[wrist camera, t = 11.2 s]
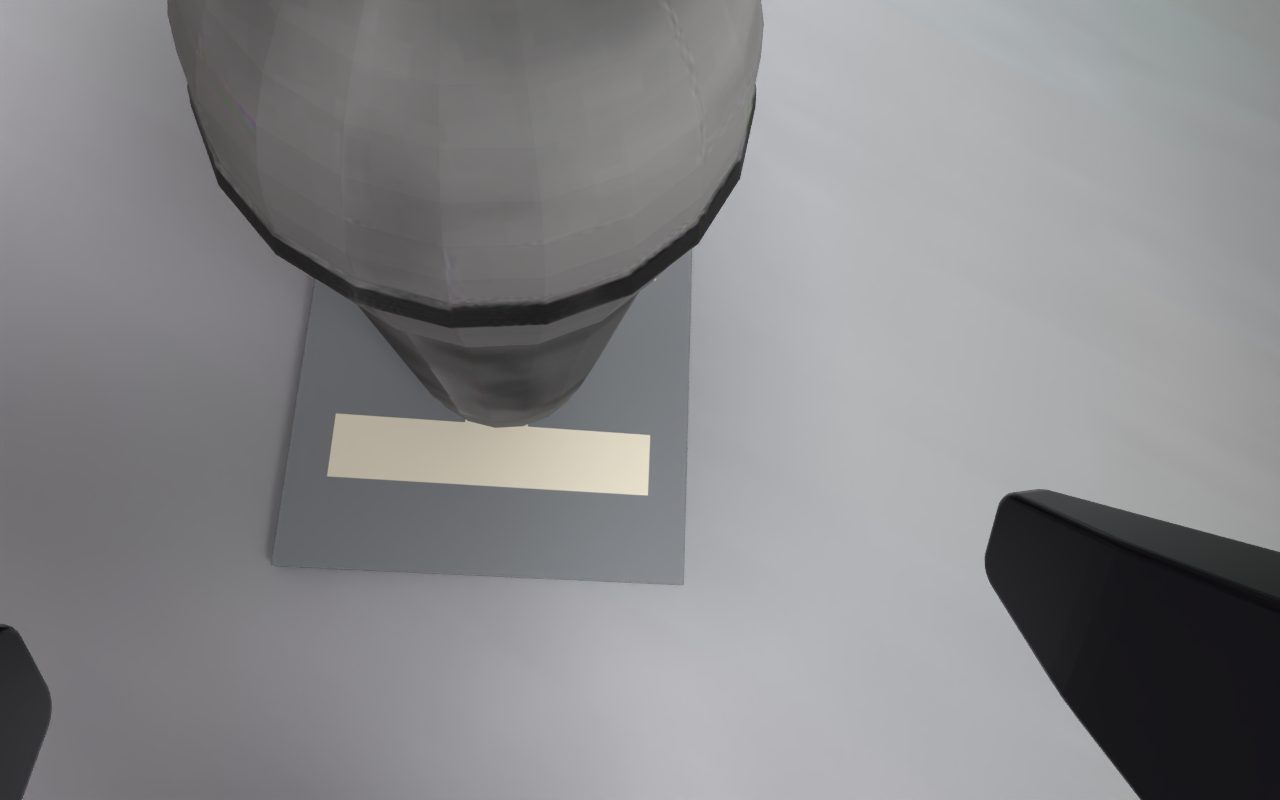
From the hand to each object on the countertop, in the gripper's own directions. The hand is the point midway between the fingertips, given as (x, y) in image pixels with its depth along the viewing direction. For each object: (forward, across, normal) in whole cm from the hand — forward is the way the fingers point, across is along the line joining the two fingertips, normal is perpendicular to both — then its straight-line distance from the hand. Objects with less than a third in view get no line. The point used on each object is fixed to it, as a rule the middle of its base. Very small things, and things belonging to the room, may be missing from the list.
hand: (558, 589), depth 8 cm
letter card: (+14, 0, -5) cm, 15 cm away
